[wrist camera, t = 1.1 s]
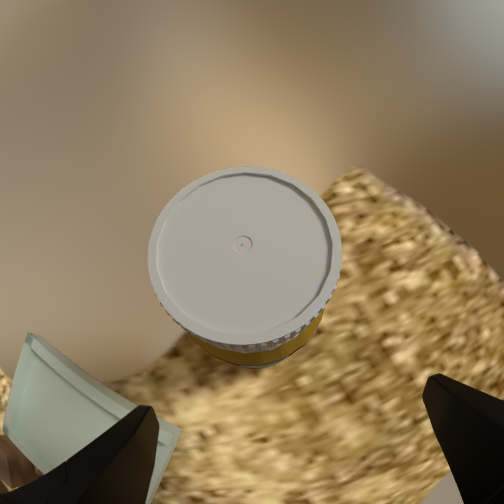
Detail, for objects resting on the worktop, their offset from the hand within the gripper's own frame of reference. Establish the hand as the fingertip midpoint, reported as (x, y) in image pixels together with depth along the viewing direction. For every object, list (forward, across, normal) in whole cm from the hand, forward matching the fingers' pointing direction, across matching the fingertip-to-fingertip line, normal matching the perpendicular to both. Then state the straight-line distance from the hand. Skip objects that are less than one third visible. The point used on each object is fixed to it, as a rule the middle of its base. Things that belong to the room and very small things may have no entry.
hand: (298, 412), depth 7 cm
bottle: (+14, +1, +5) cm, 15 cm away
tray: (+8, +17, +13) cm, 23 cm away
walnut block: (+4, +29, +18) cm, 34 cm away
